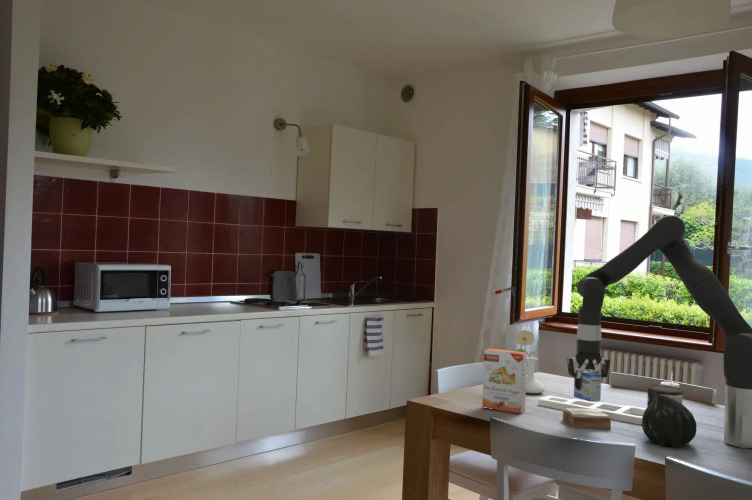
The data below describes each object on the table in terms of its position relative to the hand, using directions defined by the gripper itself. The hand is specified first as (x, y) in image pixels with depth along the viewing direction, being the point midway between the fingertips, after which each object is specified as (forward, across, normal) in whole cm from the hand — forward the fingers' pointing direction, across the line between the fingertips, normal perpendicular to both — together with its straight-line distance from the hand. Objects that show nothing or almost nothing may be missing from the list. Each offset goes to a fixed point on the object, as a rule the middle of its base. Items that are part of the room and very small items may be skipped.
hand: (587, 389), depth 205 cm
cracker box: (+12, -23, +17) cm, 31 cm away
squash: (+12, +17, -20) cm, 29 cm away
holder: (+12, +15, +17) cm, 26 cm away
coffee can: (+12, +22, -8) cm, 26 cm away
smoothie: (+12, +40, +23) cm, 47 cm away
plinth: (+11, 0, 0) cm, 11 cm away
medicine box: (+3, 0, 0) cm, 3 cm away
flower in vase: (+12, -5, +48) cm, 49 cm away
